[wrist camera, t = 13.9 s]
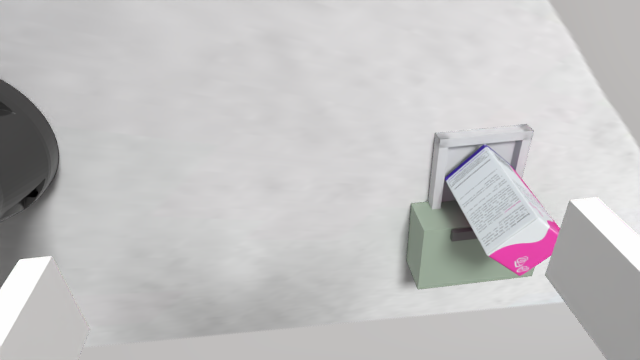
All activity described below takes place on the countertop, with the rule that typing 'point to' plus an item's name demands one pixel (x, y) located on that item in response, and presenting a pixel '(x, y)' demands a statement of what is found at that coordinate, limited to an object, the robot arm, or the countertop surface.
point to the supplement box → (503, 211)
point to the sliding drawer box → (458, 212)
